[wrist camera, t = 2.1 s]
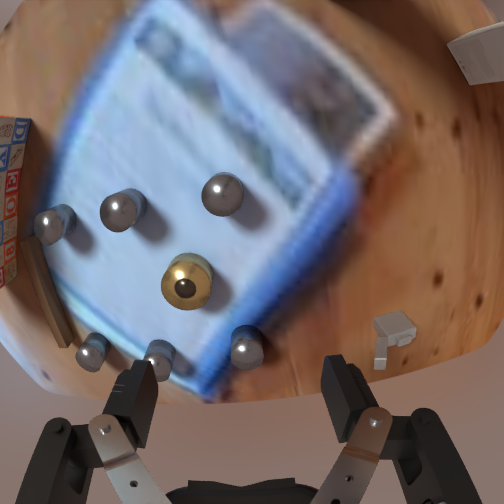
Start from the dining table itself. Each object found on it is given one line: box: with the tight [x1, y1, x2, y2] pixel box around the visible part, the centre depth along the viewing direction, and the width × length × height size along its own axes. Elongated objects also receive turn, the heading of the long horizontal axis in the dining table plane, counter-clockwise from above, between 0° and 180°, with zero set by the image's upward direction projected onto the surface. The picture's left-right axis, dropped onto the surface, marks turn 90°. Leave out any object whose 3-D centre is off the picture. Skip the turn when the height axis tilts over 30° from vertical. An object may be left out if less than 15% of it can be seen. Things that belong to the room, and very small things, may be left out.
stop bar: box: [20, 235, 75, 348], centre depth 31 cm, size 2×15×2 cm, turn 7°
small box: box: [446, 22, 504, 86], centre depth 18 cm, size 8×6×13 cm
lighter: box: [374, 310, 416, 370], centre depth 32 cm, size 7×2×8 cm, turn 101°
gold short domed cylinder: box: [161, 253, 213, 310], centre depth 30 cm, size 5×5×4 cm
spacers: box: [34, 172, 264, 382], centre depth 30 cm, size 24×22×4 cm
